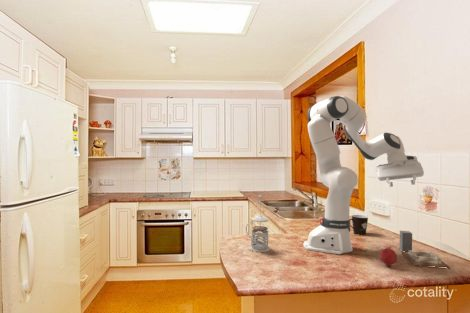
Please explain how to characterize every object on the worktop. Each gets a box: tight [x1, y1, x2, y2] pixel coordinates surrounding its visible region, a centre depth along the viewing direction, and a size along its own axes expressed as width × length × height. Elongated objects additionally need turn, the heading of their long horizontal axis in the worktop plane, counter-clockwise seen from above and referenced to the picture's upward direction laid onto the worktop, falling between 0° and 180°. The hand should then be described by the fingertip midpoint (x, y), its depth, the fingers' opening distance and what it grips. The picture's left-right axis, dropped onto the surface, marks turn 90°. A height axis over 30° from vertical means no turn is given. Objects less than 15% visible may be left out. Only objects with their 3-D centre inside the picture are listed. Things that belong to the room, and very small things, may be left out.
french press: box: [245, 195, 271, 253], centre depth 134 cm, size 10×12×25 cm
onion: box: [379, 245, 398, 267], centre depth 113 cm, size 6×6×8 cm
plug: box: [399, 230, 413, 253], centre depth 132 cm, size 4×4×9 cm
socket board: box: [401, 249, 450, 269], centre depth 119 cm, size 13×13×3 cm
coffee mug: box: [349, 214, 369, 236], centre depth 163 cm, size 12×9×10 cm
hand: (402, 185), depth 140 cm, fingers open, 8 cm apart
